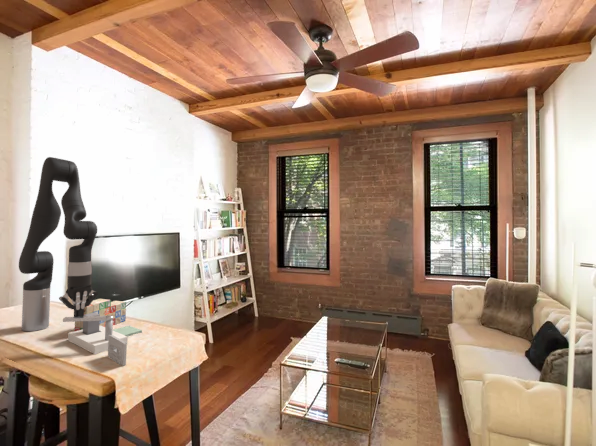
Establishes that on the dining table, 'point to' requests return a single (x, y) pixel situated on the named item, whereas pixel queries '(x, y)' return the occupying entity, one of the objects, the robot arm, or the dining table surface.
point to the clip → (88, 318)
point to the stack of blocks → (105, 311)
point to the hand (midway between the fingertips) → (78, 318)
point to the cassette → (117, 350)
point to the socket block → (96, 338)
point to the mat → (128, 330)
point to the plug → (90, 325)
